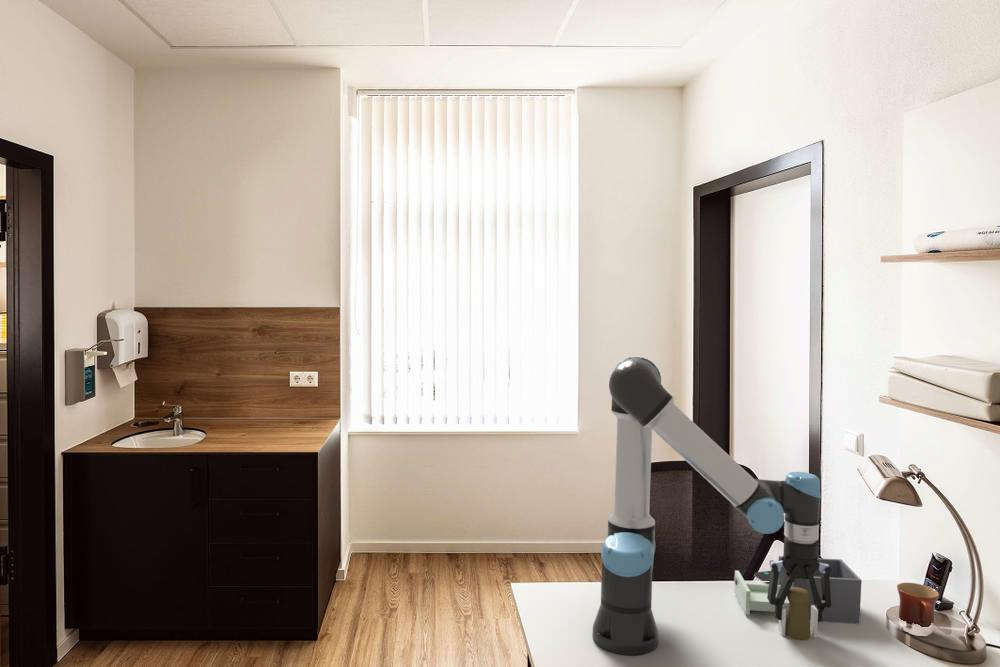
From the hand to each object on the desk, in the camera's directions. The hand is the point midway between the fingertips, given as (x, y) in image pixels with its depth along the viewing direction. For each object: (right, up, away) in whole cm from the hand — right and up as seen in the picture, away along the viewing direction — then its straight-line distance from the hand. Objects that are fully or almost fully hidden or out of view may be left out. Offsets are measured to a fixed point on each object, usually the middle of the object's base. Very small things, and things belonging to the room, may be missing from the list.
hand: (797, 633), depth 170 cm
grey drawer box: (+10, +1, +13) cm, 17 cm away
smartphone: (+7, +1, +29) cm, 30 cm away
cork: (0, 0, 0) cm, 0 cm away
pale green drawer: (-1, +1, +15) cm, 15 cm away
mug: (+29, -1, +1) cm, 29 cm away
